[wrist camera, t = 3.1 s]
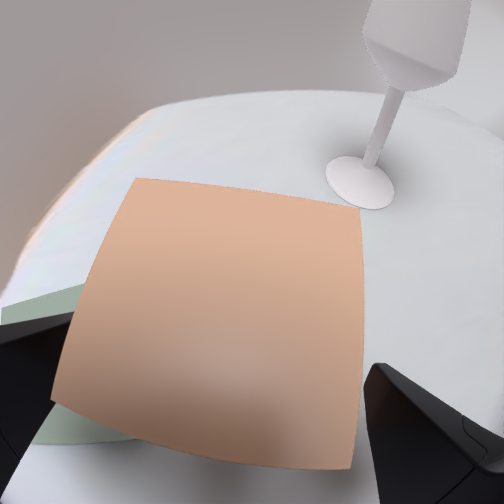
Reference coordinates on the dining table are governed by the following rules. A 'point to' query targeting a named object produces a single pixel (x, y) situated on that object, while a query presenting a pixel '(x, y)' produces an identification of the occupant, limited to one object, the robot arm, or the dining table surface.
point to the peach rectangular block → (223, 326)
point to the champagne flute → (400, 80)
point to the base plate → (60, 418)
